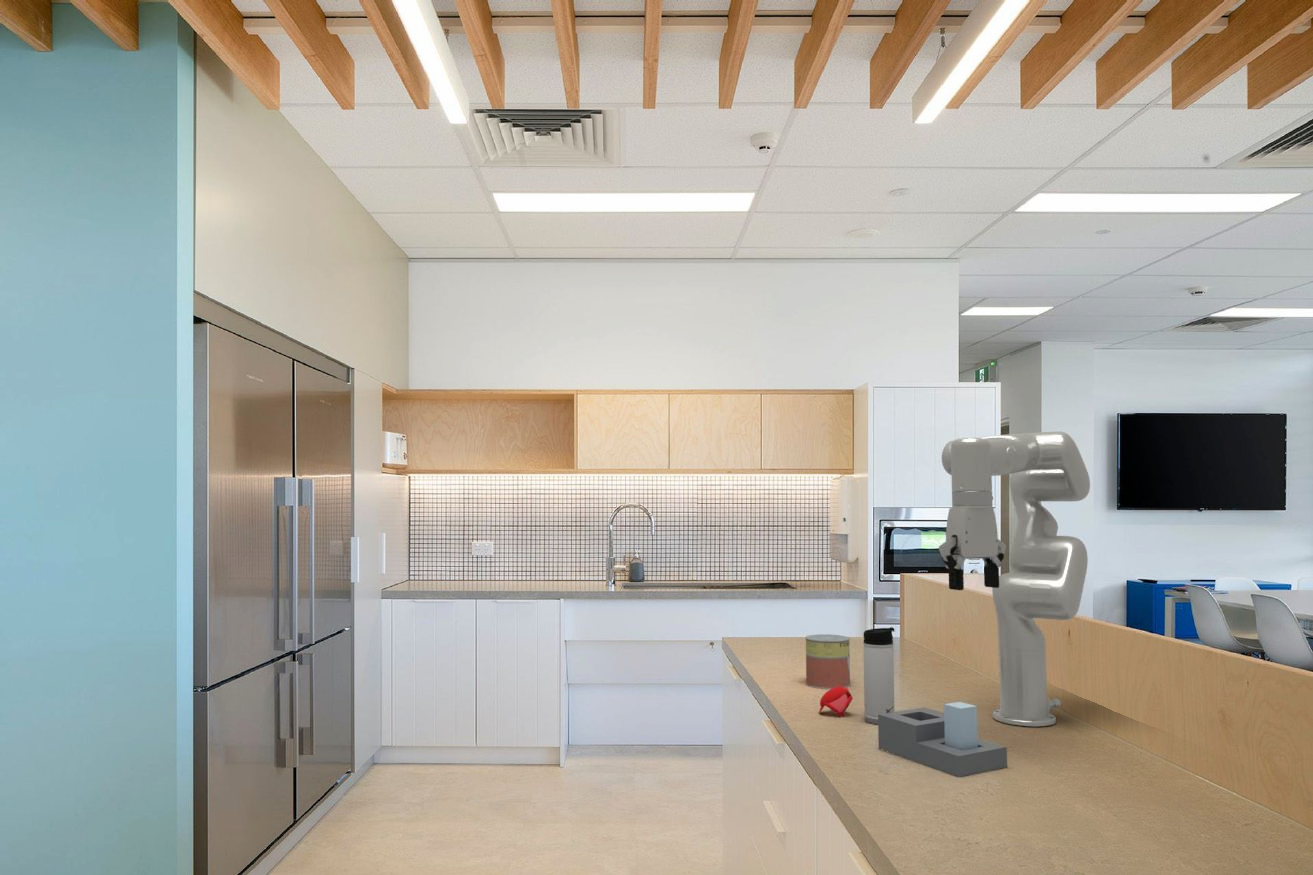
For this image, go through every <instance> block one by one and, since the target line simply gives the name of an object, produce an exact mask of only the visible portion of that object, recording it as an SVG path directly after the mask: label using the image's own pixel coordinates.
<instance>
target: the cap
mask: <svg viewBox="0 0 1313 875" xmlns="http://www.w3.org/2000/svg"><path fill="white" fill-rule="evenodd" d="M852 700H853V696H852V693H851V691H850V689H849V688H846V687H835V688H833V689H828V690H827V691H826V692H825V693H824V694H823V695H822V697H821V698H820V700H819V705H820V709H819V712H818V714H821V712H822V711H823V710H824V708H825V707H827V708H829V709H830V711H832V712H833V713H836V714H837V716H838V717H841V716H842V717H844V716H845V712H846V710H847V709H848V707H849V706H850V704H851V703H852Z"/></svg>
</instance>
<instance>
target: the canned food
mask: <svg viewBox="0 0 1313 875" xmlns="http://www.w3.org/2000/svg"><path fill="white" fill-rule="evenodd" d="M850 640H851V638H850V637H848V636H846V635H845V636H844V635H839V634H838V635H837V634H811V635H806V636H805V665H806V666H805V670H806V671H805V672H806V674H805V675H806V680H805V681H806V682H805V685H806V686H807V687H810V688H814V689H818V690H819V689H820V690H831V689H833V688H835V687H846V688H847V689H849V688H850V687H851V664H850V662H851V659H850V658H851V656H850V655H851V654H850V653H851V652H850V651H851V650H850Z"/></svg>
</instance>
